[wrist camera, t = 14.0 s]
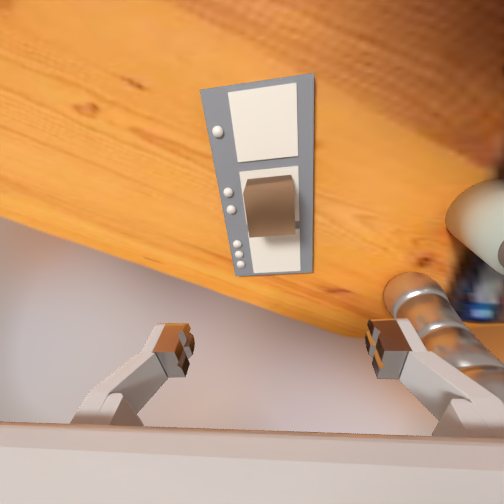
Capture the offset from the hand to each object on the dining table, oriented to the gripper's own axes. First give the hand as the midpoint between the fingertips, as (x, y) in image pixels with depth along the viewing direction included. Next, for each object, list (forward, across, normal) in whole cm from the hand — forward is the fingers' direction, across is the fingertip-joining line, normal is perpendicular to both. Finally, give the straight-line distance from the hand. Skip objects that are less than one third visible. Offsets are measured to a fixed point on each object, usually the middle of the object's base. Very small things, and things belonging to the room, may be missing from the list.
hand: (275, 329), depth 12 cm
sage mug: (+19, -22, +4) cm, 30 cm away
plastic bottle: (+19, -16, +14) cm, 29 cm away
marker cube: (+18, 0, 0) cm, 18 cm away
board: (+19, +1, 0) cm, 19 cm away
